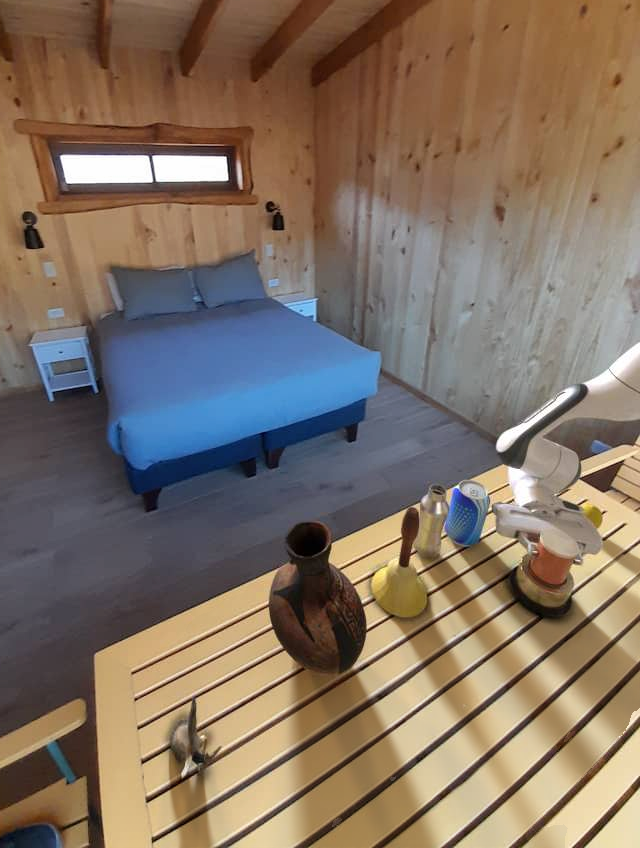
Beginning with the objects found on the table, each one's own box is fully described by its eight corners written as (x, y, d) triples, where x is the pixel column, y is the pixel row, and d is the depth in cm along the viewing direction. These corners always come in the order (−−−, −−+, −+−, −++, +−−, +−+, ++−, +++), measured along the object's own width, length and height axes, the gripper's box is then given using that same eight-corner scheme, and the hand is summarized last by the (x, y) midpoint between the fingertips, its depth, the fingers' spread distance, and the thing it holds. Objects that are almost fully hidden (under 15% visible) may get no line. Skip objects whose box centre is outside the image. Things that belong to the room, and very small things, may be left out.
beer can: (436, 528, 106) (447, 483, 99) (460, 518, 109) (472, 473, 102) (461, 553, 99) (474, 506, 92) (486, 542, 102) (500, 495, 95)
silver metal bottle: (419, 534, 105) (430, 475, 96) (444, 549, 100) (458, 489, 91) (406, 549, 101) (417, 489, 92) (431, 566, 96) (445, 505, 87)
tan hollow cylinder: (560, 575, 93) (570, 554, 90) (578, 626, 83) (589, 604, 80) (503, 563, 97) (510, 541, 93) (514, 610, 86) (522, 588, 83)
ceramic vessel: (383, 668, 77) (401, 564, 64) (305, 722, 70) (307, 618, 56) (322, 580, 94) (326, 483, 80) (254, 616, 86) (246, 516, 73)
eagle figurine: (232, 741, 67) (202, 690, 72) (213, 752, 61) (182, 696, 66) (200, 782, 65) (172, 727, 71) (177, 797, 60) (148, 737, 65)
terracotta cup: (560, 561, 89) (572, 532, 84) (570, 588, 83) (584, 559, 79) (526, 554, 90) (537, 525, 86) (533, 580, 85) (545, 551, 81)
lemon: (571, 517, 109) (580, 495, 105) (596, 526, 106) (607, 504, 102) (570, 530, 105) (580, 508, 101) (596, 540, 102) (607, 518, 98)
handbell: (389, 556, 99) (401, 479, 88) (437, 590, 91) (457, 510, 80) (360, 590, 91) (369, 510, 80) (409, 629, 83) (427, 547, 72)
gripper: (493, 491, 97) (503, 536, 85) (591, 508, 91) (617, 559, 79) (487, 510, 100) (497, 556, 88) (582, 528, 94) (606, 580, 82)
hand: (555, 558), depth 84 cm, fingers open, 7 cm apart
